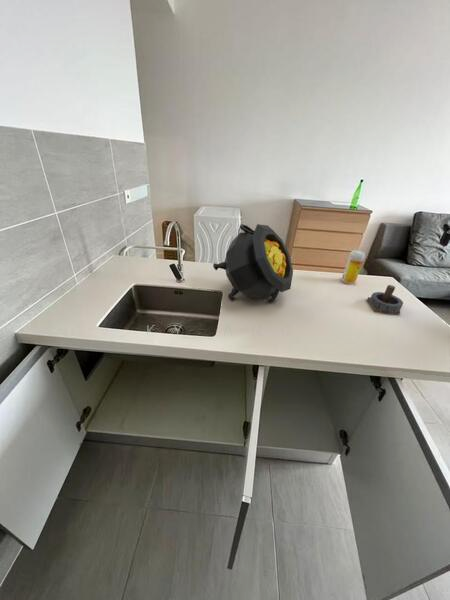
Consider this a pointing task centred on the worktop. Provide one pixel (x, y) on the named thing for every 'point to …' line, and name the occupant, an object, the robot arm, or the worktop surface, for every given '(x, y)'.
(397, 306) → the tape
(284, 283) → the cauldron
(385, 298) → the peg stand
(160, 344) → the worktop surface
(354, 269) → the beer can
